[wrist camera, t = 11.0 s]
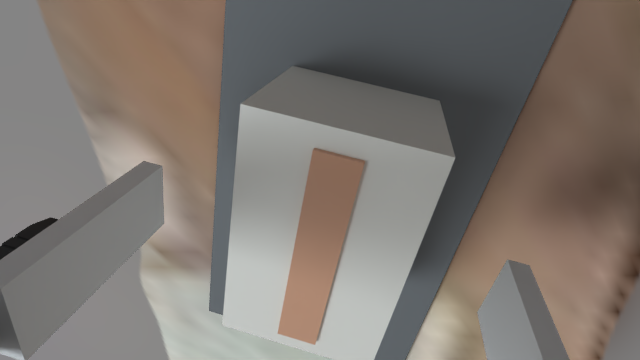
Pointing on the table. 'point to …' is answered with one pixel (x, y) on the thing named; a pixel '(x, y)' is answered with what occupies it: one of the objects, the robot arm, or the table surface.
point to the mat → (402, 75)
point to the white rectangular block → (330, 209)
